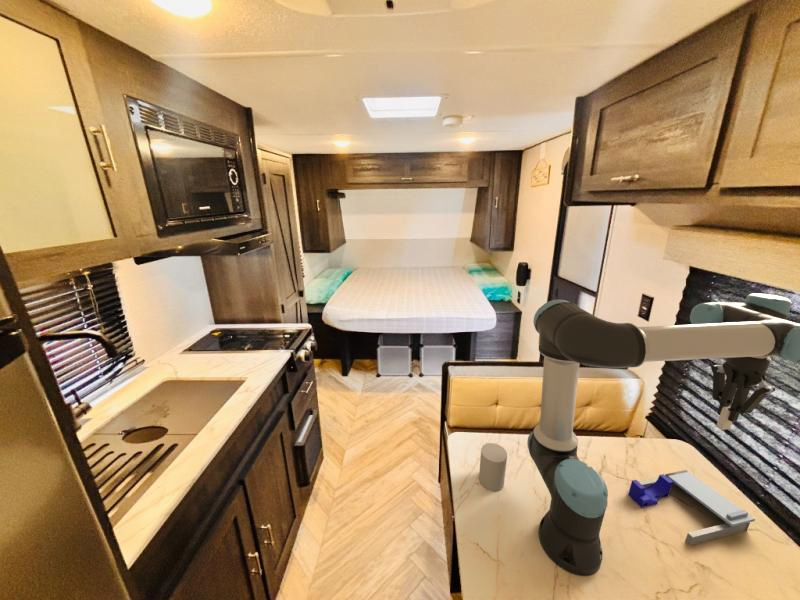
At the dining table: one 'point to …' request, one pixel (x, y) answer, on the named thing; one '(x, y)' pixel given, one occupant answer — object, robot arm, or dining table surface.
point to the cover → (710, 498)
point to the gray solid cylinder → (492, 467)
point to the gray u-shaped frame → (707, 532)
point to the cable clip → (650, 491)
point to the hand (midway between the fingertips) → (722, 427)
